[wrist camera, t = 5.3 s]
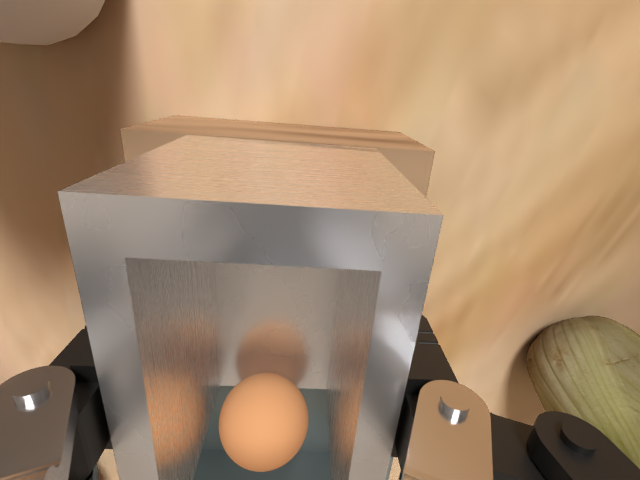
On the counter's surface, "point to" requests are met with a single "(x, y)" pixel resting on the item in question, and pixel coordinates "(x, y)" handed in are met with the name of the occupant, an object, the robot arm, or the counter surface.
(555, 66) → the counter surface
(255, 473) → the tray
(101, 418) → the robot arm
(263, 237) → the chute
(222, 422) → the ball
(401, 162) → the stand
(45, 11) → the can
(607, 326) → the fennel bulb
